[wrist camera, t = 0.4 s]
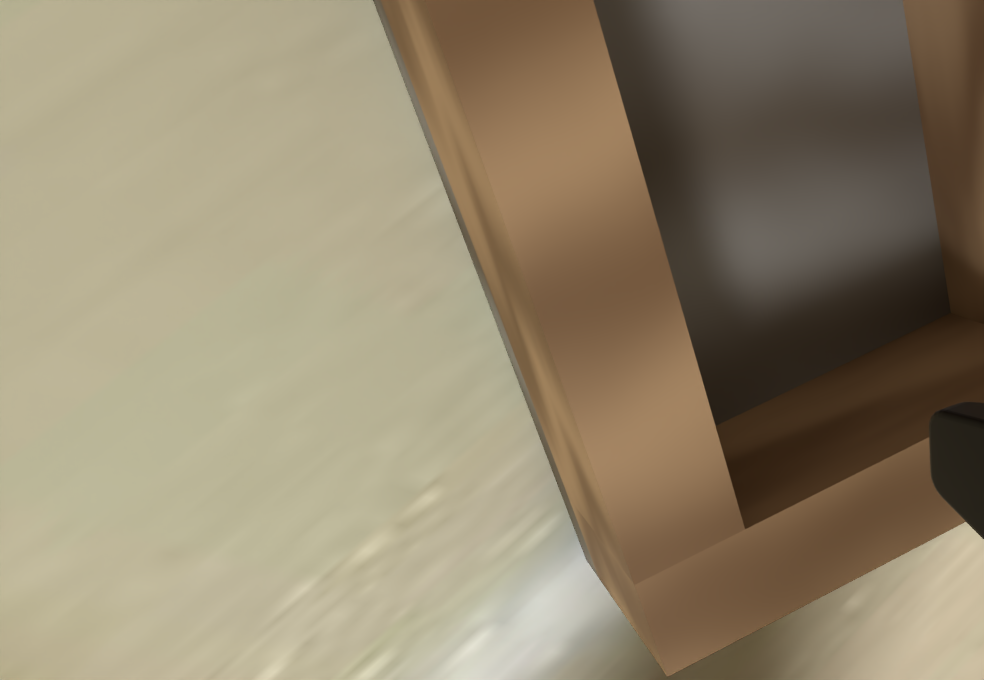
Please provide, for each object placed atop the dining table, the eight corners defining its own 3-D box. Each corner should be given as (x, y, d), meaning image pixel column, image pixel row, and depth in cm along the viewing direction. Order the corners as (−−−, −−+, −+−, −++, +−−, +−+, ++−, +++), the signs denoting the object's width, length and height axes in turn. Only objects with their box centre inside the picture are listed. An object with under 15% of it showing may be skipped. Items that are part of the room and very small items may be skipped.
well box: (1015, 347, 28) (1182, 408, 23) (586, 559, 26) (667, 677, 21) (927, -357, 21) (1145, -494, 16) (320, -141, 19) (346, -217, 14)
